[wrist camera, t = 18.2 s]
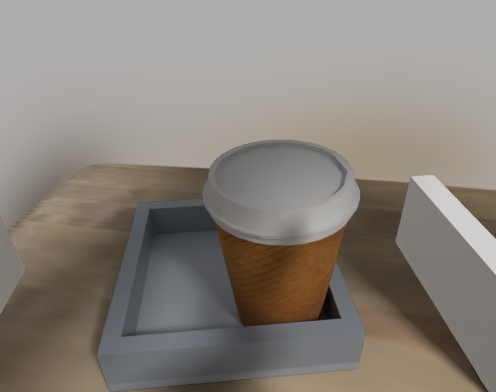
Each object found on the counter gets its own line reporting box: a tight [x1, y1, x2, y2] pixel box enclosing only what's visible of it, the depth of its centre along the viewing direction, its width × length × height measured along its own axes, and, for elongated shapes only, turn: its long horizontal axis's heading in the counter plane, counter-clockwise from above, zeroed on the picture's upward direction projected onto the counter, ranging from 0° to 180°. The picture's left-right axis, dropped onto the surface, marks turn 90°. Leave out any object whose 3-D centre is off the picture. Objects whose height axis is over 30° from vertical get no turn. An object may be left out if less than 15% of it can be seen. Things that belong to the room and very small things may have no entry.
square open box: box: [96, 199, 366, 392], centre depth 31 cm, size 16×16×4 cm
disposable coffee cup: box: [202, 140, 360, 327], centre depth 26 cm, size 10×10×12 cm
